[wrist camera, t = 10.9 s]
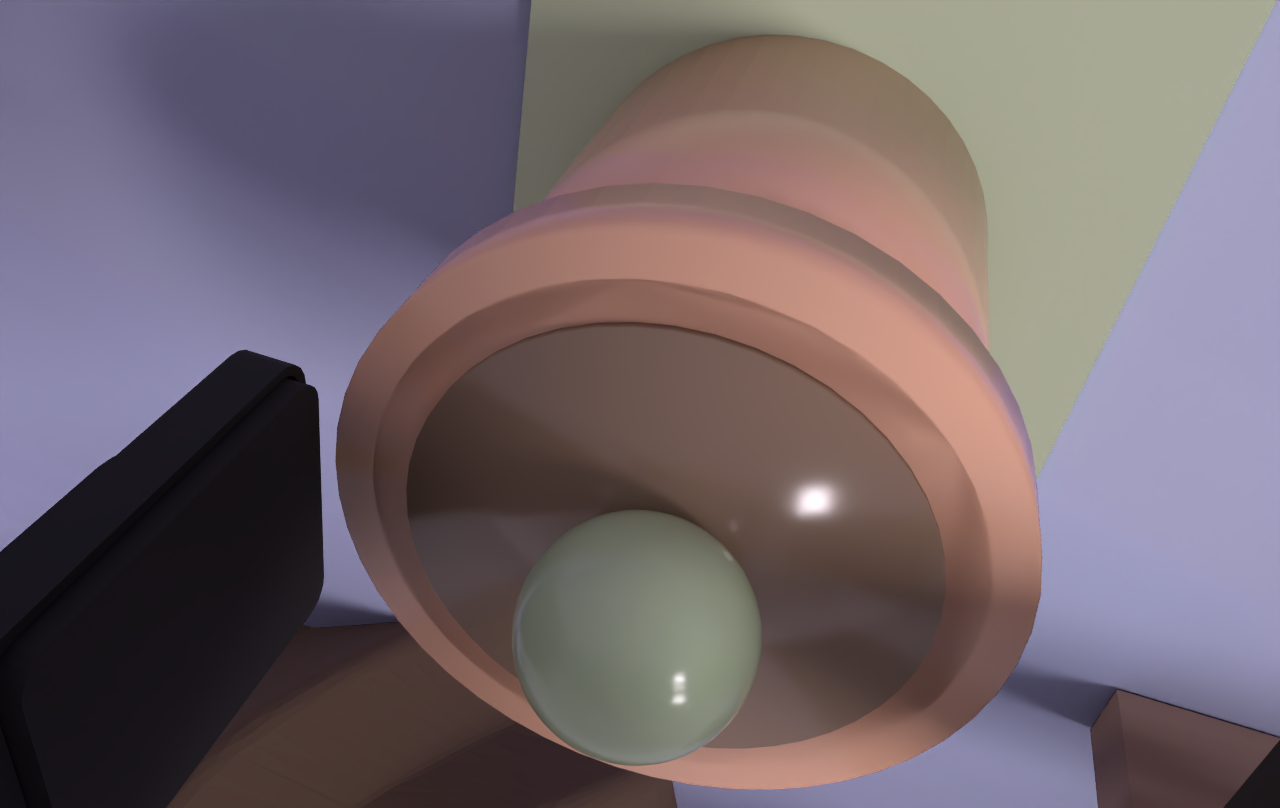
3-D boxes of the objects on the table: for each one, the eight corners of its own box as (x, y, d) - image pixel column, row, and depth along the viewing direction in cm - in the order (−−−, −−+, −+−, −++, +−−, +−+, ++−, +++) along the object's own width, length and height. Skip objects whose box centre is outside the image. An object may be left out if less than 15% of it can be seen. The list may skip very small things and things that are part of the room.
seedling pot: (929, 477, 17) (894, 1057, 10) (535, 366, 18) (244, 831, 11) (1099, 72, 13) (1242, 557, 6) (583, -49, 14) (170, 257, 7)
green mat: (952, 640, 20) (951, 648, 19) (490, 502, 21) (486, 508, 20) (1388, -236, 11) (1395, -234, 11) (571, -395, 12) (566, -395, 12)
